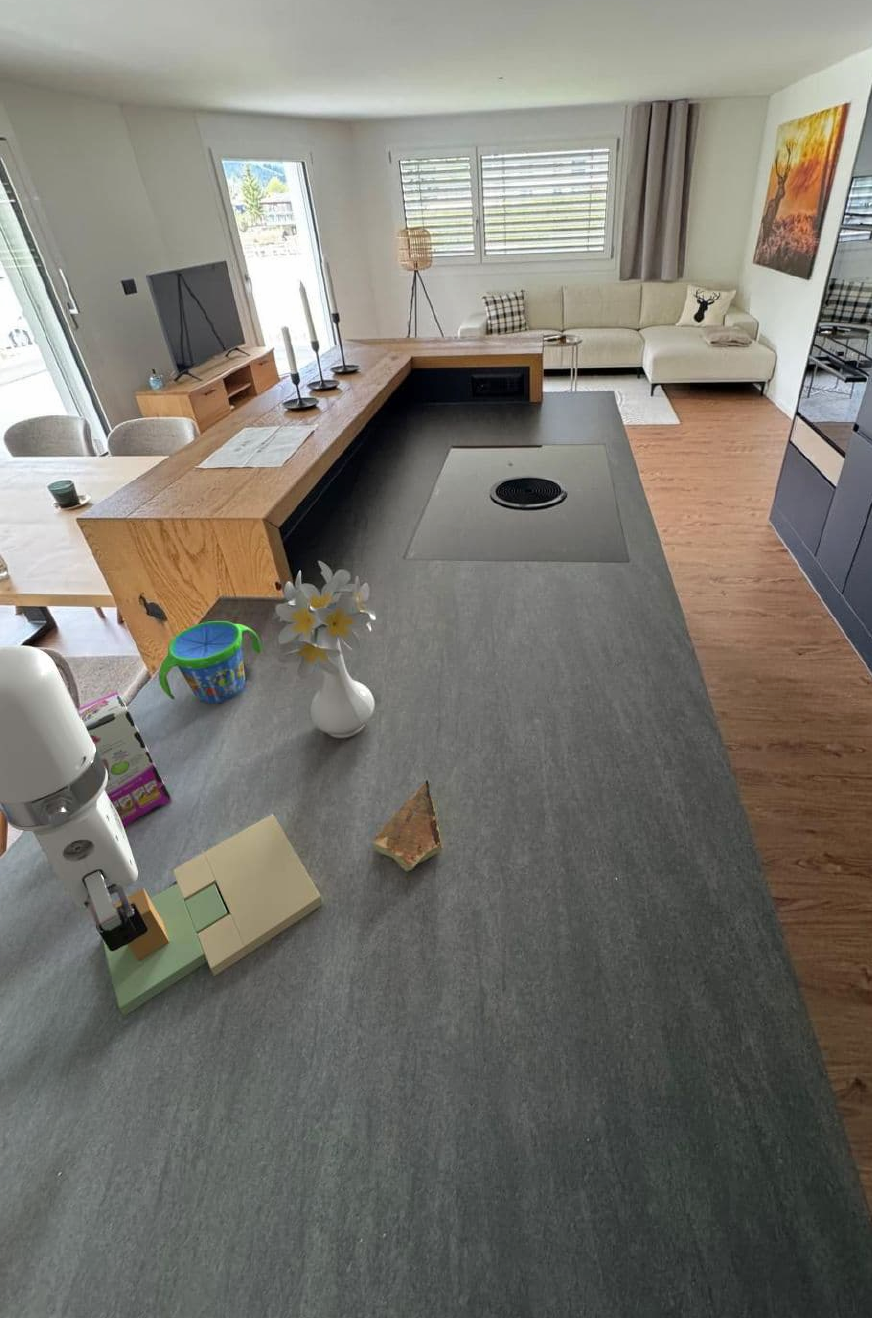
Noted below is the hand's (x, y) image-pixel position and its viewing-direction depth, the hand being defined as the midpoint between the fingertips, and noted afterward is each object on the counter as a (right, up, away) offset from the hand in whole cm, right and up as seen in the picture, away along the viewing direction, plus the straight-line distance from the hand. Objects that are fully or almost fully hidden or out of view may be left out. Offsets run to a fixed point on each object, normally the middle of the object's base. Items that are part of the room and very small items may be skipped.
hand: (118, 899), depth 61 cm
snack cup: (-7, +14, +40) cm, 42 cm away
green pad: (+2, -7, +5) cm, 9 cm away
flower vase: (+15, +10, +32) cm, 36 cm away
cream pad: (+9, -4, +10) cm, 14 cm away
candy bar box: (-11, +1, +20) cm, 23 cm away
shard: (+26, 0, +16) cm, 30 cm away
